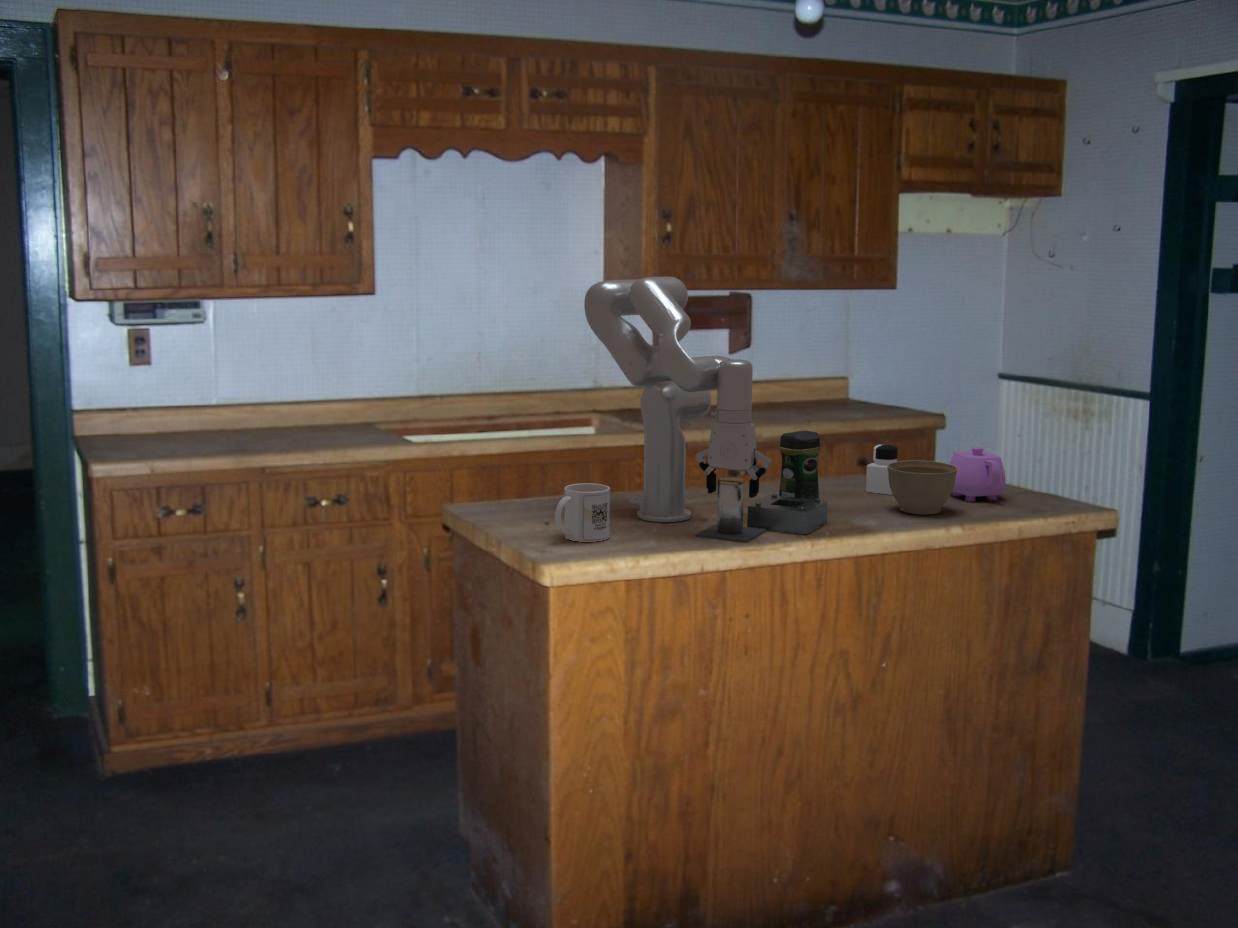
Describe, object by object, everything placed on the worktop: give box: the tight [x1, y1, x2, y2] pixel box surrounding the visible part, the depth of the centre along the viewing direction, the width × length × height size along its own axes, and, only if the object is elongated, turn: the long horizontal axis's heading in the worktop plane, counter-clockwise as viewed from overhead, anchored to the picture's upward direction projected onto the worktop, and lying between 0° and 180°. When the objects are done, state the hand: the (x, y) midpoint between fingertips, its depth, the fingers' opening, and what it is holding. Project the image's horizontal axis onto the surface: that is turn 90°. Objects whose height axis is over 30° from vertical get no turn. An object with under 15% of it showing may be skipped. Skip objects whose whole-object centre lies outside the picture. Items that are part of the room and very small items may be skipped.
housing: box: [746, 493, 829, 535], centre depth 290 cm, size 14×14×6 cm
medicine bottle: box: [865, 443, 899, 496], centre depth 328 cm, size 7×7×12 cm
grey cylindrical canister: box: [716, 477, 745, 535], centre depth 281 cm, size 6×6×12 cm
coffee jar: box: [778, 430, 821, 499], centre depth 308 cm, size 10×8×19 cm
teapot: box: [949, 446, 1006, 502], centre depth 322 cm, size 20×12×13 cm, turn 15°
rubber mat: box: [695, 523, 768, 543], centre depth 282 cm, size 12×12×1 cm
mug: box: [554, 482, 611, 543], centre depth 276 cm, size 10×12×11 cm
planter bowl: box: [887, 459, 957, 516], centre depth 305 cm, size 16×16×11 cm
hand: (732, 494), depth 280 cm, fingers open, 9 cm apart
